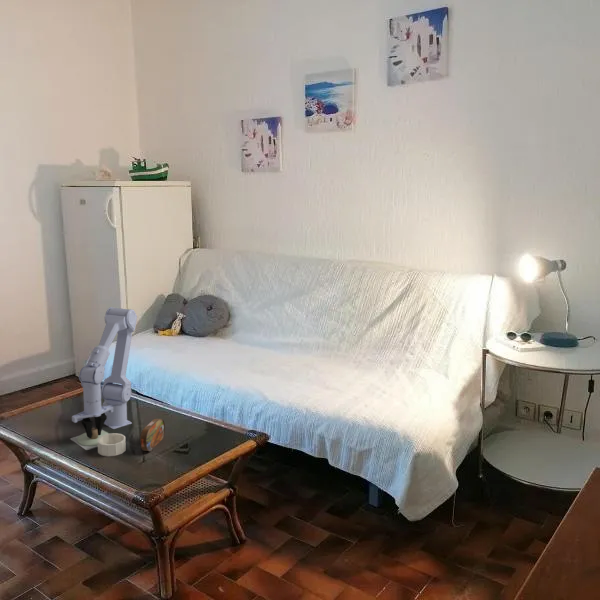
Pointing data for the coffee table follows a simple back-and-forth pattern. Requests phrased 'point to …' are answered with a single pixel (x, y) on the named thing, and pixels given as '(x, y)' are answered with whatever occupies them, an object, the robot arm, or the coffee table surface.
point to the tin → (152, 434)
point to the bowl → (111, 444)
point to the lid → (90, 441)
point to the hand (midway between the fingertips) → (93, 435)
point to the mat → (82, 445)
